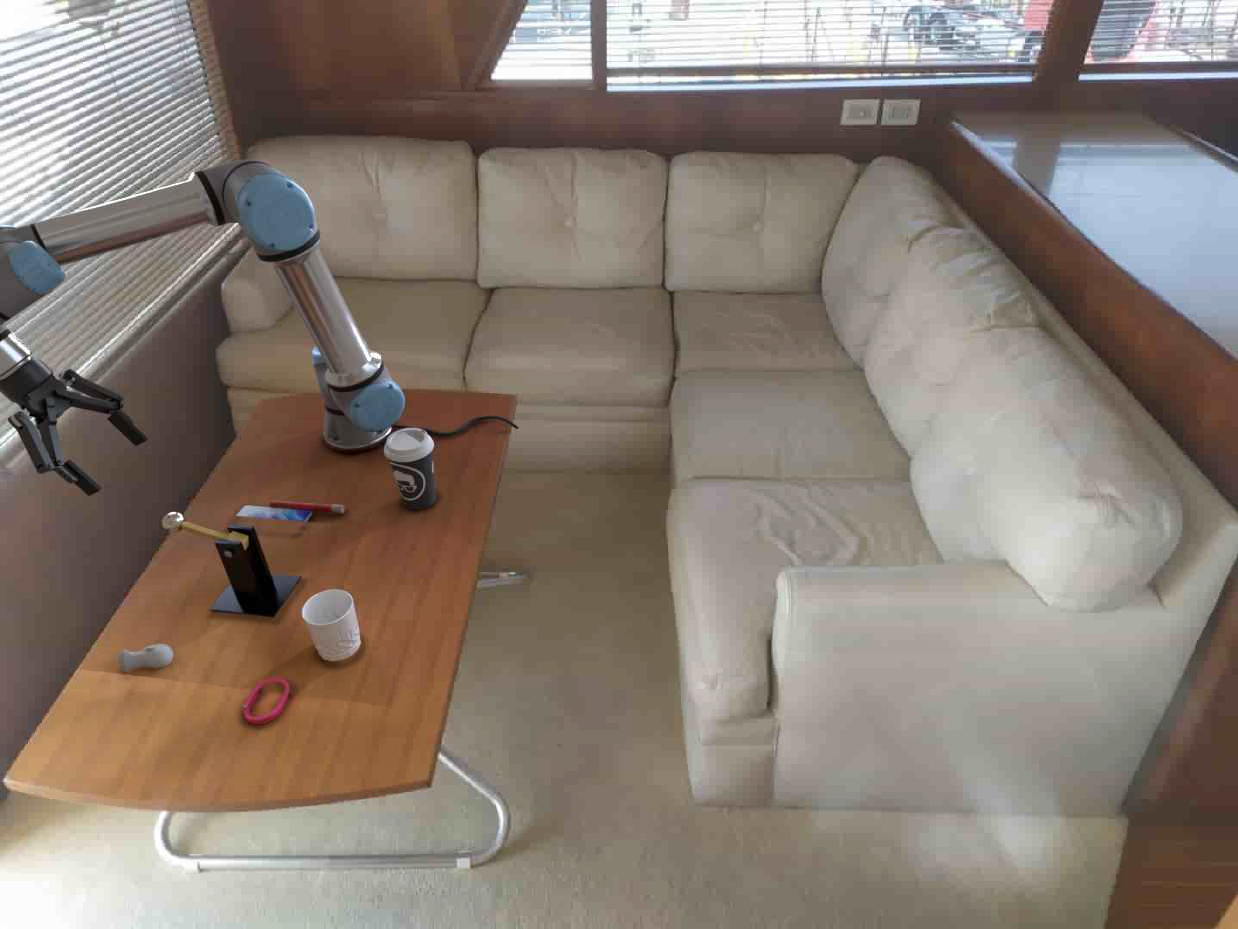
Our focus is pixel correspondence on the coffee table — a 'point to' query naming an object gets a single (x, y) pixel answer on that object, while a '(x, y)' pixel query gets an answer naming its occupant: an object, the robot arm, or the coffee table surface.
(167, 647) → the smooth white sculpture
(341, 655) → the white cup
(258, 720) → the fitness band
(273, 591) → the bracket
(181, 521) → the silver ball pendulum
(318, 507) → the red road flare
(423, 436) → the coffee cup
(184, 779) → the coffee table surface
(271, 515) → the smartphone
